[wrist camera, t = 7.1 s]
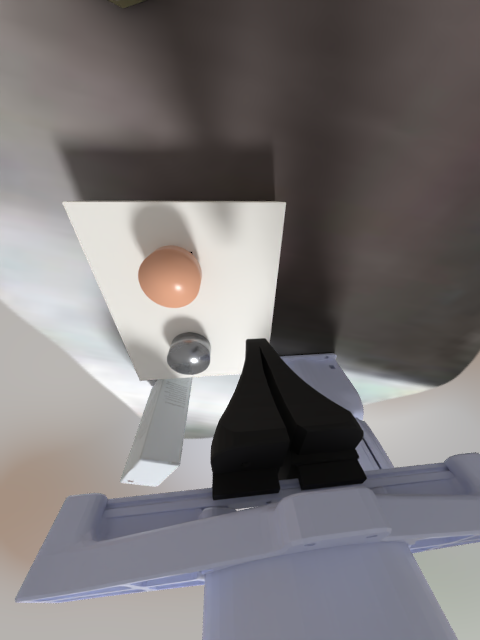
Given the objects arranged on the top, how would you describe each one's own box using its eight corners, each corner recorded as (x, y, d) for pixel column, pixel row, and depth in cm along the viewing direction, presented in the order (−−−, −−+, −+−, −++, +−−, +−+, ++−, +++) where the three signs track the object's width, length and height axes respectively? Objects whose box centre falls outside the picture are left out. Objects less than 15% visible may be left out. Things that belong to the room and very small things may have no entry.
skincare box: (177, 394, 31) (157, 488, 21) (151, 387, 30) (117, 483, 20) (194, 372, 29) (181, 467, 19) (167, 363, 27) (137, 459, 17)
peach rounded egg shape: (202, 237, 17) (196, 251, 13) (206, 282, 20) (202, 306, 15) (152, 237, 17) (129, 252, 13) (163, 283, 19) (147, 309, 15)
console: (275, 201, 17) (286, 202, 14) (261, 353, 28) (266, 372, 25) (90, 200, 16) (62, 201, 13) (148, 360, 27) (140, 380, 24)
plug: (210, 315, 23) (208, 343, 19) (213, 343, 25) (211, 373, 21) (173, 317, 23) (162, 345, 18) (179, 344, 25) (171, 376, 21)
